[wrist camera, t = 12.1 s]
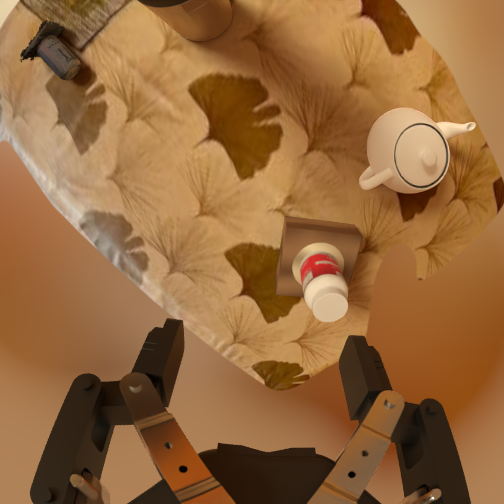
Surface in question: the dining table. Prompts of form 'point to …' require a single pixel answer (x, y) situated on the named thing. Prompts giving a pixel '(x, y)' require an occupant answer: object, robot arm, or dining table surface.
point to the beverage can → (53, 51)
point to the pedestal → (309, 240)
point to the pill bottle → (324, 286)
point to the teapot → (409, 151)
